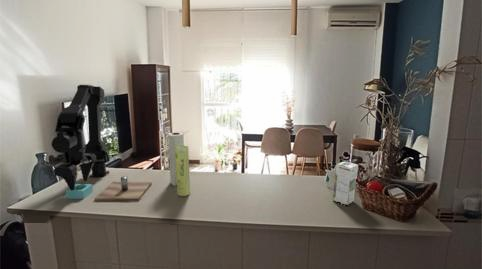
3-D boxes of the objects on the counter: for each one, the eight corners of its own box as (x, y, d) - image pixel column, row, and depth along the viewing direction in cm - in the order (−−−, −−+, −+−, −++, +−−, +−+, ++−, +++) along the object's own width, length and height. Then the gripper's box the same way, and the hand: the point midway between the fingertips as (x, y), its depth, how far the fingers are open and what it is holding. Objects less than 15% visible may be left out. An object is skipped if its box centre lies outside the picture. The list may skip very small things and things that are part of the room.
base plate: (113, 184, 123) (113, 181, 123) (151, 184, 123) (151, 182, 123) (94, 200, 107) (94, 198, 107) (138, 201, 107) (138, 198, 107)
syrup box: (339, 197, 112) (343, 160, 109) (354, 202, 108) (358, 164, 105) (332, 201, 108) (335, 163, 105) (347, 206, 104) (351, 167, 101)
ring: (76, 191, 115) (75, 184, 115) (93, 191, 115) (92, 184, 115) (66, 198, 109) (65, 190, 108) (84, 198, 109) (83, 191, 108)
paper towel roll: (178, 178, 129) (176, 131, 125) (188, 182, 126) (186, 133, 121) (165, 183, 124) (162, 134, 119) (175, 187, 120) (173, 136, 116)
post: (123, 188, 116) (122, 176, 115) (129, 188, 116) (128, 176, 115) (120, 190, 114) (119, 178, 113) (126, 190, 114) (125, 178, 113)
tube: (174, 196, 111) (172, 146, 107) (176, 191, 116) (174, 143, 112) (189, 196, 112) (188, 146, 107) (191, 191, 116) (189, 143, 112)
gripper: (67, 139, 117) (71, 176, 120) (35, 152, 99) (41, 195, 102) (95, 139, 117) (98, 176, 120) (68, 152, 99) (73, 195, 102)
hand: (79, 185), depth 111 cm, fingers open, 9 cm apart
